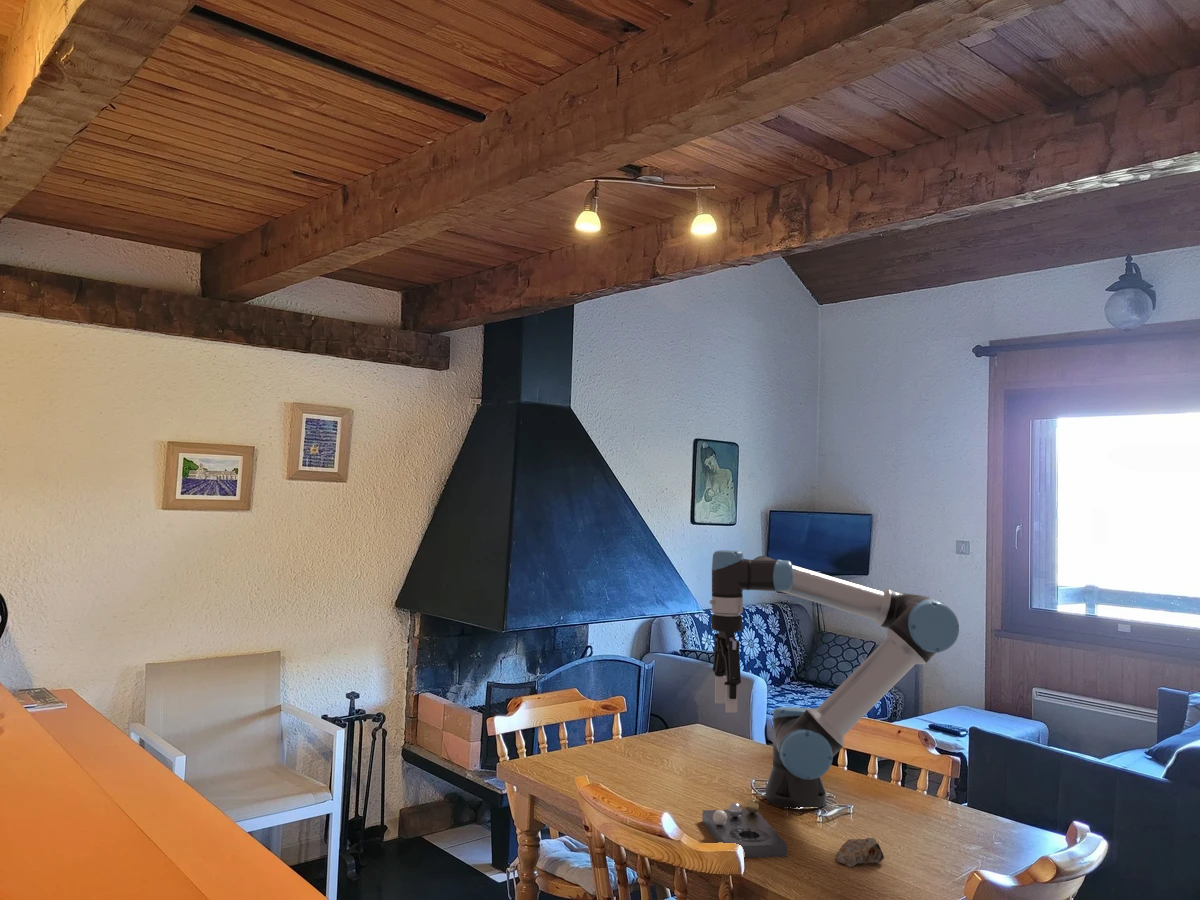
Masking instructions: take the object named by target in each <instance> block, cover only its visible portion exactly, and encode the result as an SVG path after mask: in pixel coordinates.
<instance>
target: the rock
mask: <svg viewBox="0 0 1200 900" xmlns="http://www.w3.org/2000/svg"><path fill="white" fill-rule="evenodd" d="M835 857H836V861H837V862H838V863H840V864H844V865H846V866H847V867H849V868H854V866H855V865H858V864H860V865H861V864H880V863H881V862H882V861H883V860H885V856H884V853H883V851H882V848H881V846H880V844H879V842H877V839H875V838H873V837H867V838H864V839H862V838H857V839H853V838H849V839H847V840H846V841H845V843H843V844H842V845H841V847H840V849H839V850H838V851H837V852H836V854H835Z"/></svg>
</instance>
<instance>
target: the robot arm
mask: <svg viewBox="0 0 1200 900" xmlns="http://www.w3.org/2000/svg"><path fill="white" fill-rule="evenodd" d="M743 591H763V592H765V591H768V592H777V593H779V592H781V593H785V594H788V595H790V596H794V597H797V598H801V599H804V600H807V601H810V602H813V603H816V604H820V605H823V606H827V607H830V608H832V609H836V610H840V611H843V612H847V613H850V614H852V615H853V614H854V615H856V616H859V617H863V618H866V619H868V620H873V621H875V623H876V625H877V626H879V627H882V628H885V629H886V638H885V640H883V641H882V642H881V644H879V645H878V646H877V648H876V649H875V650H873V652H872V653H870V654H869V656H868V657H866V659H865V660H864V661H863V662H862V663H860V665H859V666H858V667H857V668H856V669H855V670H854V671H853V672H851V673H850V675H849V676H847V678H846V679H845V680H844V681H843V682H841V684H840V685H838V687H837V688H836V689H835V690H834V691H833V692H832V693H831V694H830V695H829V696H827V698H826V699H825V700H824V701H823V702H822V703H821V704H820V705H819V706H818V707H816V708H807V707H793V706H792V707H791V706H785V707H784V706H783V707H782V706H781V707H776V708H775V709H774V710H773V714H772V768H771V770H770V774H769V776H768V780H767V784H766V786H765V790H764V791H765V795H766V798H765V800H766V799H767V800H766V801H767V802H769V803H770V804H772V805H774V806H777V807H780V808H784V807H788V808H787V809H789V808H790V807H791V808H796V807H798V808H800V807H820V806H823V805H825V804H827V792H826V789H825V785H824V782H823V779H822V776H824V775H825V774H826V773H827V772H828V771H829V770H830V768H831V766H832V763H833V758H834V757H835V756H836V754H838V752H840V751H841V750H842V748H843V747H845V736H846V734H848V732H849V731H851V729H853V728H854V726H856V724H857V723H858V722H860V720H861V719H862V718H863V717H865V715H867V713H868V712H869V711H871V709H873V707H874V706H875V705H876V704H877V703H878V702H879V701H880V700H882V698H884V696H885V695H886V694H887V693H889V691H890V690H891V689H893V687H894V686H895V685H896V684H897V683H898V682H899V681H900V680H901V679H902V678H903V677H904V676H906V674H907V673H908V672H909V671H910V670H911V669H912V668H913V667H914V666H916V665H926V664H927V663H928V662H929V661H930V660H931V659H932V658H933V657H934V656H935V655H936V654H939V653H942V652H944V651H947V650H948V649H950V648H951V647H952V646H953V645H954V644H955V643H956V641H957V640H958V637H959V634H960V624H959V619H958V617H957V615H956V613H955V612H954V611H953V610H952V609H951V607H949V606H948V605H947V604H945V603H944V602H943V601H941V600H938V599H933V598H930V597H928V596H924V595H921V594H914V593H913V594H912V593H905V592H900V591H896V590H892V589H889V588H887V589H885V590H883V591H882V590H879V589H875V588H872V587H868V586H865V585H861V584H858V583H854V582H853V581H852V582H851V581H849V580H845V579H843V578H842V579H841V578H839V577H835V576H831V575H828V574H825V573H822V572H818V571H814V570H811V569H807V568H805V567H804V568H803V567H801V566H798V565H794V564H793V563H792V562H791V561H790V560H786V559H785V560H784V559H783V560H782V559H775V558H771V557H769V556H766V555H760V556H756V557H755V558H753V559H747V558H745V557H744V553H743V552H742V551H740V550H716V551H715V552H713V554H712V562H711V600H709V605H711V612H712V613H713V614H712V615H711V619H710V620H711V623H710V624H711V630H713V631H714V632H715V631H716V633H714V649H713V662H712V672H714V679H715V680H714V682H715V683H714V703H715V704H725V713H727V714H729V713H731V714H732V713H738V701H739V700H738V699H739V698H738V697H739V696H738V693H739V692H738V686H739V685H740V684H741V683H742V680H741V679H742V678H741V677H742V676H741V659H740V645H741V644H740V643H741V642H740V641H739V640H737V638H736V634H735V633H736V632H741V631H742V630H743V616H742V615H741V614H742V613H744V611H743V610H744V607H743V606H744V599H743V598H744V597H743ZM825 806H826V805H825ZM823 807H824V806H823Z"/></svg>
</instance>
